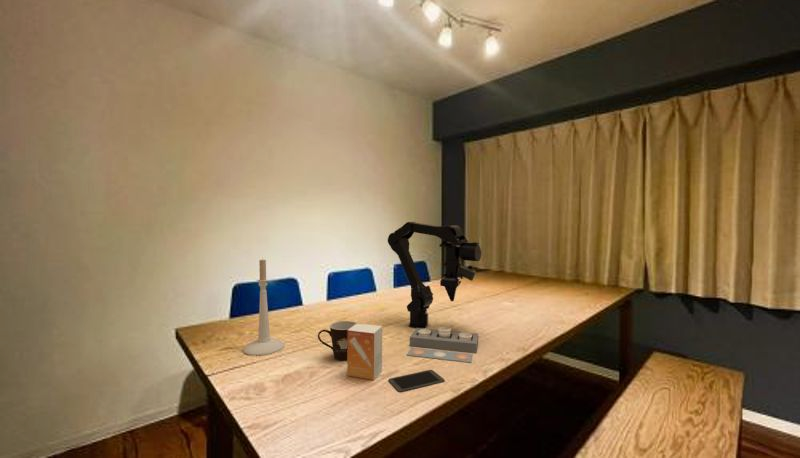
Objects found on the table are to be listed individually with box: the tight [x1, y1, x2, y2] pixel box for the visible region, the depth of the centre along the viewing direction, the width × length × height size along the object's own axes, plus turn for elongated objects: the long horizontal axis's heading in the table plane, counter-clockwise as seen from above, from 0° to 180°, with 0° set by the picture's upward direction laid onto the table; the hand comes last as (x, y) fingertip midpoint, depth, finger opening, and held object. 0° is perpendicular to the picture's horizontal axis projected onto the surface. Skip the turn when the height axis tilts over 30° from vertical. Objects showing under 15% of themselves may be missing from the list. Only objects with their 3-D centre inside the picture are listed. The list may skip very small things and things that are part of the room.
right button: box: [459, 331, 472, 340], centre depth 118 cm, size 4×4×3 cm
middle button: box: [437, 326, 452, 338], centre depth 120 cm, size 4×4×3 cm
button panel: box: [409, 327, 479, 354], centre depth 120 cm, size 22×10×3 cm, turn 74°
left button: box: [418, 328, 431, 336], centre depth 122 cm, size 4×4×3 cm
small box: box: [346, 323, 383, 381], centre depth 97 cm, size 8×6×13 cm
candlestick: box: [242, 259, 286, 356], centre depth 115 cm, size 13×13×30 cm
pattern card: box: [406, 347, 473, 364], centre depth 110 cm, size 20×6×1 cm, turn 74°
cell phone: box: [387, 369, 446, 393], centre depth 93 cm, size 7×14×1 cm, turn 115°
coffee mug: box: [317, 320, 358, 362], centre depth 109 cm, size 12×9×10 cm
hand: (452, 300), depth 130 cm, fingers closed
